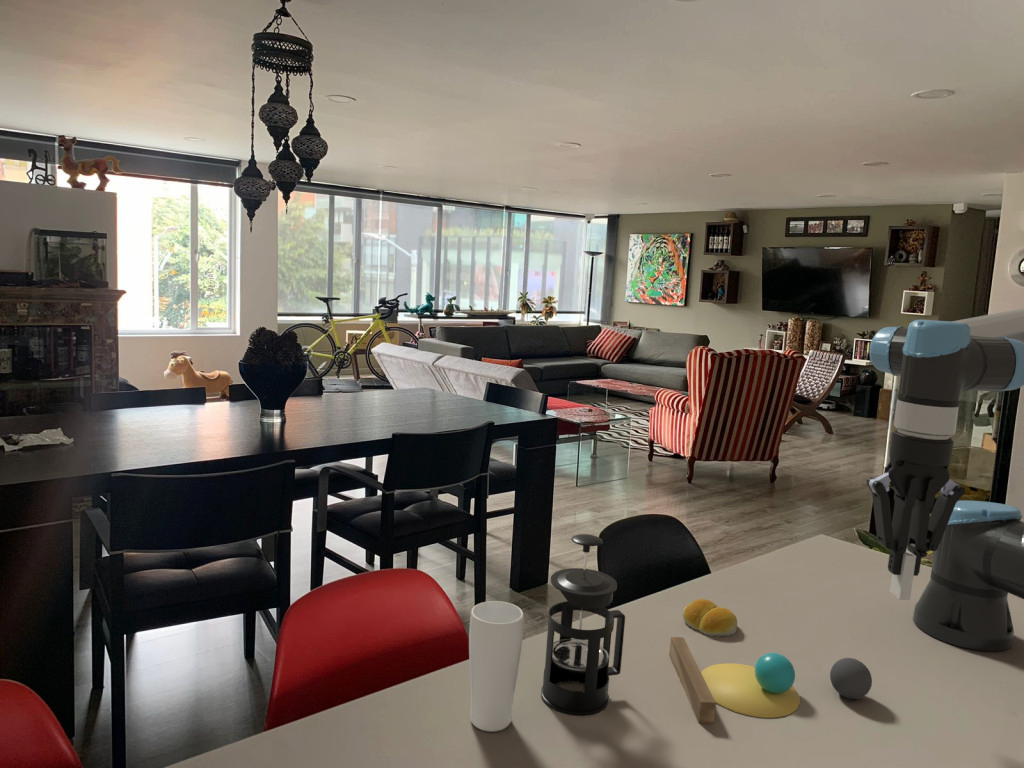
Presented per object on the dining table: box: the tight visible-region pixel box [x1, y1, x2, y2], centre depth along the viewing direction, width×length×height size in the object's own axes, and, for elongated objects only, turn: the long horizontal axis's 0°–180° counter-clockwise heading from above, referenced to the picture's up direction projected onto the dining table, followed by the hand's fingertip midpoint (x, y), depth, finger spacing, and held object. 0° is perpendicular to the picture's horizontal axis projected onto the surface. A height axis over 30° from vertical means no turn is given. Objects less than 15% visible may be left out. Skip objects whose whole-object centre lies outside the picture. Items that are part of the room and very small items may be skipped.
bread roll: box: [682, 598, 738, 637], centre depth 130 cm, size 8×9×4 cm
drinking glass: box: [468, 600, 524, 733], centre depth 97 cm, size 7×7×15 cm
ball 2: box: [829, 657, 873, 700], centre depth 110 cm, size 6×6×6 cm
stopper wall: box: [668, 636, 717, 725], centre depth 110 cm, size 2×18×3 cm, turn 1°
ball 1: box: [754, 652, 796, 694], centre depth 110 cm, size 6×6×6 cm
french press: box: [540, 533, 626, 717], centre depth 104 cm, size 12×9×23 cm
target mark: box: [700, 662, 801, 719], centre depth 110 cm, size 14×14×1 cm
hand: (899, 595), depth 108 cm, fingers closed
